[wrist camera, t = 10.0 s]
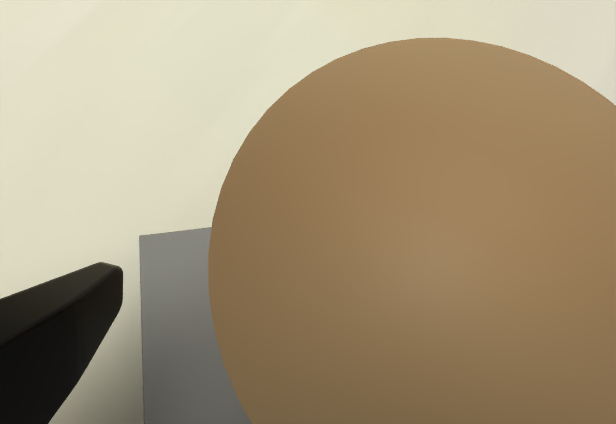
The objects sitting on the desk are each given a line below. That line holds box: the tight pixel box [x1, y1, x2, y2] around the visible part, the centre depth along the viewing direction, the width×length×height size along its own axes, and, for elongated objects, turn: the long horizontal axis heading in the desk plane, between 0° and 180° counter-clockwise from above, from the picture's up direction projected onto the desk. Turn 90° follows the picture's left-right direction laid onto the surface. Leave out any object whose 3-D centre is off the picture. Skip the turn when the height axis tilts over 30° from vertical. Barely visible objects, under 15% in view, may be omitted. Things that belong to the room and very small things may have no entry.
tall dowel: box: [208, 38, 616, 424], centre depth 10 cm, size 4×4×14 cm
